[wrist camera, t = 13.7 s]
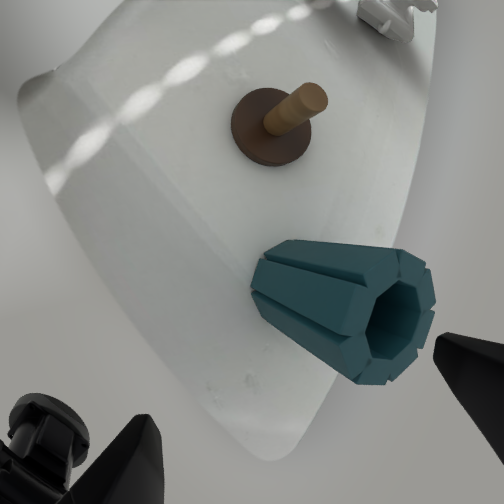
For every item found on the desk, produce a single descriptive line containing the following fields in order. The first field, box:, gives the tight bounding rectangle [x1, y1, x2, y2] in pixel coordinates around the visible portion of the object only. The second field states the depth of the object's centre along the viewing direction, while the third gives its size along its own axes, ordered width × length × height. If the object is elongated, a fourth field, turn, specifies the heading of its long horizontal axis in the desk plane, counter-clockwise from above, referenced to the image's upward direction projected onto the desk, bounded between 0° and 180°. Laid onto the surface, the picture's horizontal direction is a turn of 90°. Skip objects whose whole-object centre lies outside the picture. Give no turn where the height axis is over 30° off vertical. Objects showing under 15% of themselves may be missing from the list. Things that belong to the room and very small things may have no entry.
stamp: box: [357, 0, 438, 43], centre depth 18 cm, size 9×7×8 cm
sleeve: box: [250, 240, 436, 385], centre depth 16 cm, size 6×6×10 cm
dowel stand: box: [231, 82, 328, 166], centre depth 17 cm, size 6×6×6 cm
